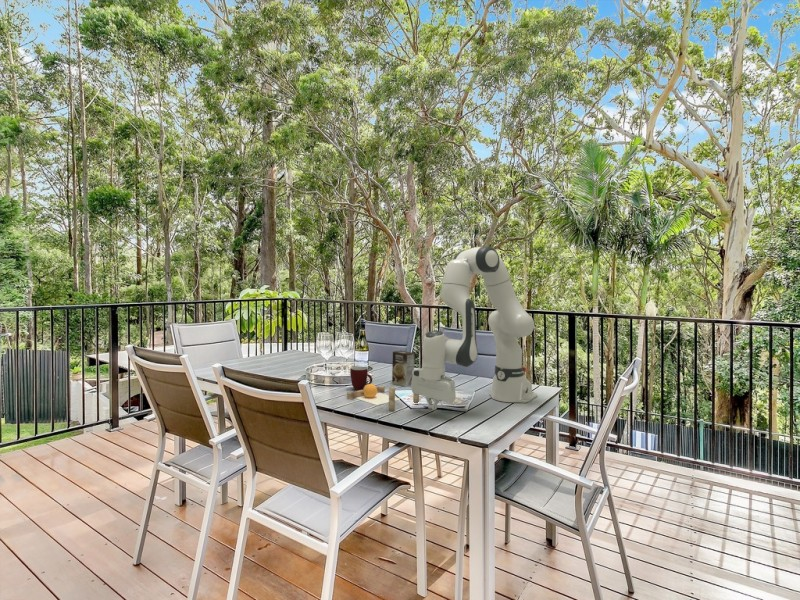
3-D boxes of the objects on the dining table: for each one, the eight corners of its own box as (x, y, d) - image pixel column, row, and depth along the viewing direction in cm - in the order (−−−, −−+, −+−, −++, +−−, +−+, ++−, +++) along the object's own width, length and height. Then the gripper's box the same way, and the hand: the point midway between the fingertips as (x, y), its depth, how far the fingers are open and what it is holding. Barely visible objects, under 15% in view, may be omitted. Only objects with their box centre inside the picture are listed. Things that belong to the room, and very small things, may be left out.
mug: (374, 388, 217) (374, 367, 216) (370, 392, 209) (370, 370, 208) (352, 386, 219) (353, 366, 218) (347, 391, 211) (348, 369, 210)
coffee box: (391, 384, 226) (392, 351, 225) (399, 381, 231) (400, 350, 230) (405, 387, 220) (406, 353, 219) (414, 385, 225) (414, 352, 224)
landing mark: (379, 393, 208) (379, 392, 208) (401, 399, 198) (401, 399, 198) (355, 398, 199) (355, 397, 199) (376, 405, 189) (376, 405, 189)
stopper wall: (381, 391, 212) (381, 385, 212) (384, 392, 211) (384, 386, 210) (346, 398, 198) (347, 392, 198) (349, 399, 197) (349, 393, 197)
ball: (378, 398, 202) (369, 391, 205) (381, 386, 199) (372, 379, 203) (368, 402, 197) (359, 395, 201) (370, 390, 195) (361, 383, 199)
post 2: (416, 402, 194) (416, 381, 193) (420, 404, 192) (420, 382, 191) (412, 403, 192) (412, 382, 191) (416, 405, 190) (416, 383, 190)
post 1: (391, 409, 184) (392, 386, 183) (396, 410, 182) (396, 388, 182) (387, 410, 182) (387, 387, 182) (391, 411, 181) (391, 389, 180)
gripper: (459, 377, 172) (458, 413, 173) (420, 368, 187) (419, 402, 187) (448, 379, 168) (447, 417, 168) (409, 370, 182) (408, 404, 183)
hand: (432, 409), depth 178 cm, fingers closed
